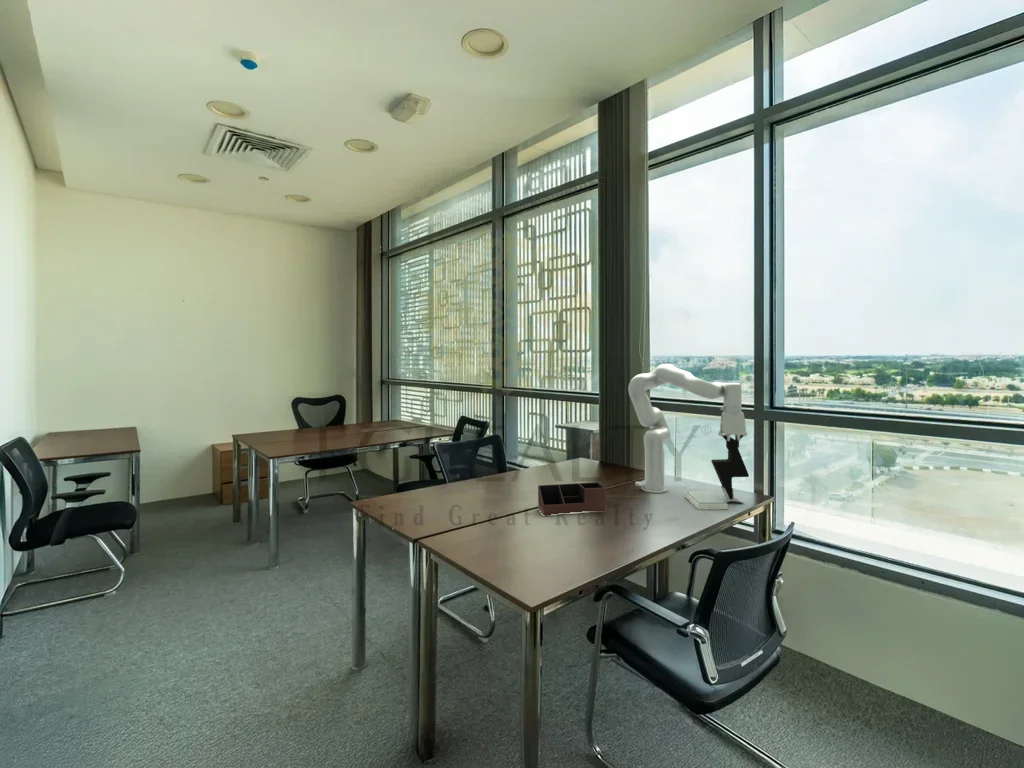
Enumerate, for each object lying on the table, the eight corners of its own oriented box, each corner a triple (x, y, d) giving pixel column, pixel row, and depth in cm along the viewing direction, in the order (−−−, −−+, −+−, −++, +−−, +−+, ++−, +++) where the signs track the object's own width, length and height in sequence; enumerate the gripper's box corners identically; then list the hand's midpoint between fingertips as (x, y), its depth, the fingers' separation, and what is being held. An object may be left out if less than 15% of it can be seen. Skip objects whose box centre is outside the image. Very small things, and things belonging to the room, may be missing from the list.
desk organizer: (607, 512, 215) (607, 487, 214) (542, 517, 210) (542, 491, 209) (598, 505, 225) (598, 481, 225) (536, 509, 220) (536, 485, 220)
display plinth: (697, 509, 217) (698, 502, 217) (684, 497, 236) (684, 491, 236) (727, 509, 216) (727, 502, 216) (712, 497, 235) (712, 491, 235)
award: (745, 499, 229) (743, 436, 227) (750, 502, 224) (748, 438, 222) (712, 500, 230) (710, 437, 229) (716, 503, 225) (713, 439, 223)
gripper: (717, 410, 221) (717, 451, 222) (754, 410, 220) (754, 450, 221) (711, 409, 228) (711, 448, 229) (746, 408, 228) (746, 447, 228)
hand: (732, 448), depth 225 cm, fingers closed on award, 2 cm apart
